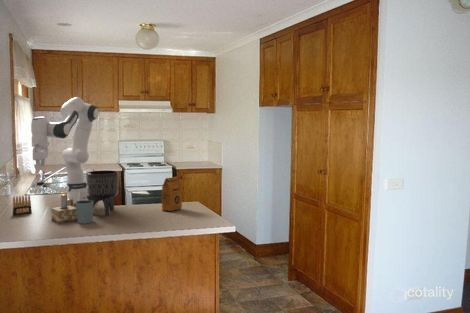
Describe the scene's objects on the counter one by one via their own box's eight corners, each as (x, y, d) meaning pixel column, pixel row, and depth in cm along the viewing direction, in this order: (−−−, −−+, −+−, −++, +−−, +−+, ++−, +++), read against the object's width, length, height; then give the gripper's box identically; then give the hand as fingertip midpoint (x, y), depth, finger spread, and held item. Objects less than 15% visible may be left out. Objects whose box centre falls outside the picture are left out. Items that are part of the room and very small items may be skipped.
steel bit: (66, 217, 257) (65, 194, 256) (68, 218, 255) (68, 194, 254) (60, 218, 255) (59, 194, 254) (62, 219, 252) (62, 195, 251)
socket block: (69, 216, 263) (69, 205, 262) (77, 219, 255) (77, 208, 254) (51, 219, 255) (51, 208, 254) (58, 222, 247) (58, 211, 246)
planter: (102, 209, 285) (101, 169, 283) (125, 212, 277) (125, 171, 274) (80, 214, 268) (79, 173, 265) (104, 218, 259) (103, 175, 257)
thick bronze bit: (71, 213, 271) (71, 198, 270) (75, 215, 267) (74, 199, 266) (62, 215, 267) (62, 199, 266) (66, 216, 263) (65, 200, 262)
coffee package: (184, 209, 285) (183, 176, 283) (170, 212, 275) (169, 178, 273) (173, 207, 291) (173, 175, 289) (159, 210, 281) (159, 177, 279)
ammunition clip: (13, 215, 265) (12, 196, 264) (12, 215, 267) (11, 196, 266) (31, 213, 272) (31, 194, 271) (30, 212, 273) (30, 194, 272)
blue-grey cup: (83, 224, 244) (82, 203, 243) (72, 222, 249) (71, 202, 248) (97, 221, 252) (97, 201, 251) (86, 218, 258) (85, 199, 256)
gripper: (40, 144, 248) (41, 168, 250) (49, 142, 268) (50, 164, 270) (29, 144, 247) (30, 168, 248) (38, 142, 267) (39, 164, 269)
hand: (40, 166), depth 259 cm, fingers open, 8 cm apart
